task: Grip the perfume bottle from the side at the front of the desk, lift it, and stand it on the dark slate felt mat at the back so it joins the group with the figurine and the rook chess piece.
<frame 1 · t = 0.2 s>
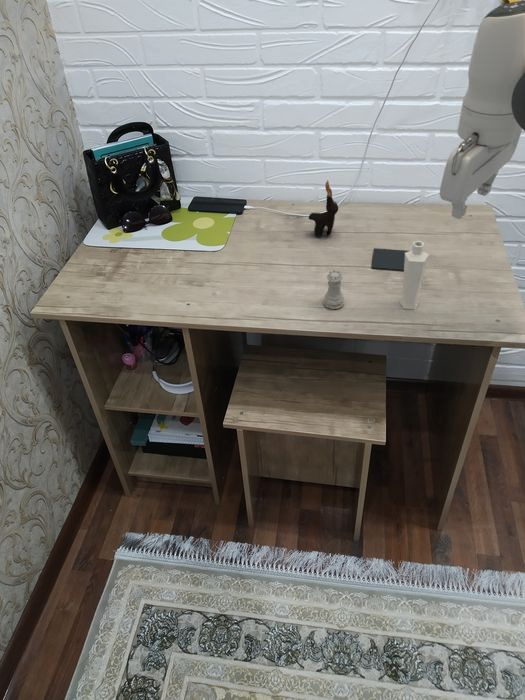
hand: (471, 204, 97), 27 cm above the table, tool pointing down, fingers open, 8 cm apart
rook chess piece: (333, 304, 123), on the table
mat: (394, 260, 134), on the table
figurine: (323, 233, 144), on the table
perfume bottle: (409, 305, 122), on the table
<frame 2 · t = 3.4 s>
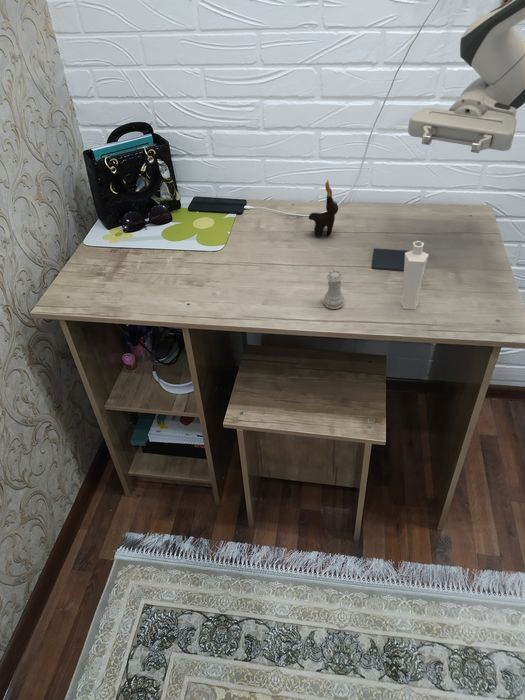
hand: (450, 144, 108), 30 cm above the table, tool horizontal, fingers open, 8 cm apart
nothing on the table moved.
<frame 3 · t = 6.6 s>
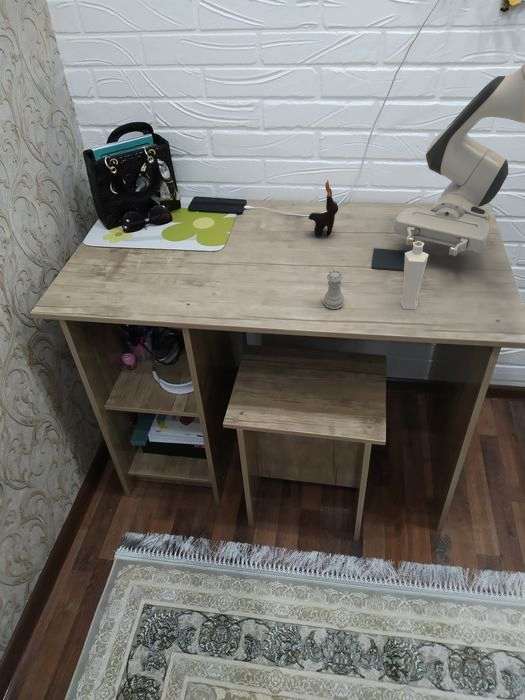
hand: (430, 247, 122), 8 cm above the table, tool horizontal, fingers open, 8 cm apart
nothing on the table moved.
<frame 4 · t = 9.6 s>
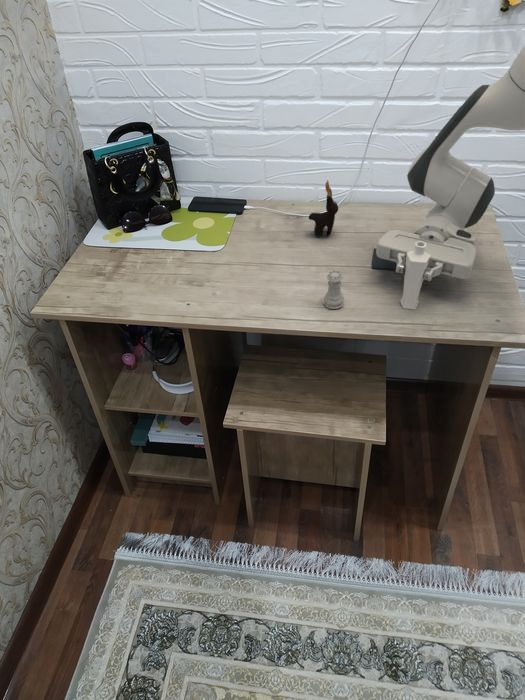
hand: (413, 273, 115), 9 cm above the table, tool horizontal, fingers closed on perfume bottle, 4 cm apart
perfume bottle: (409, 305, 122), on the table, touching gripper
everything else where it was.
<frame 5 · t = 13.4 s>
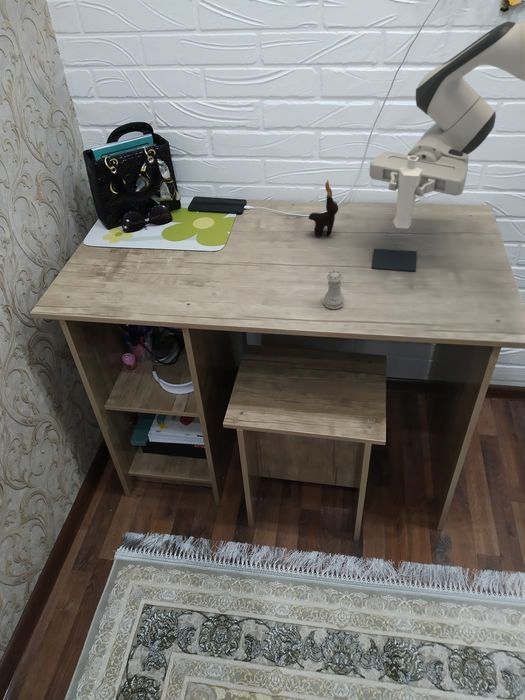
hand: (405, 190, 117), 20 cm above the table, tool horizontal, fingers closed on perfume bottle, 4 cm apart
perfume bottle: (402, 225, 123), point 12 cm above the table, touching gripper
everything else where it was.
when the fingers open (9 cm above the table, at t = 17.2 s): perfume bottle stays where it is, resting on mat.
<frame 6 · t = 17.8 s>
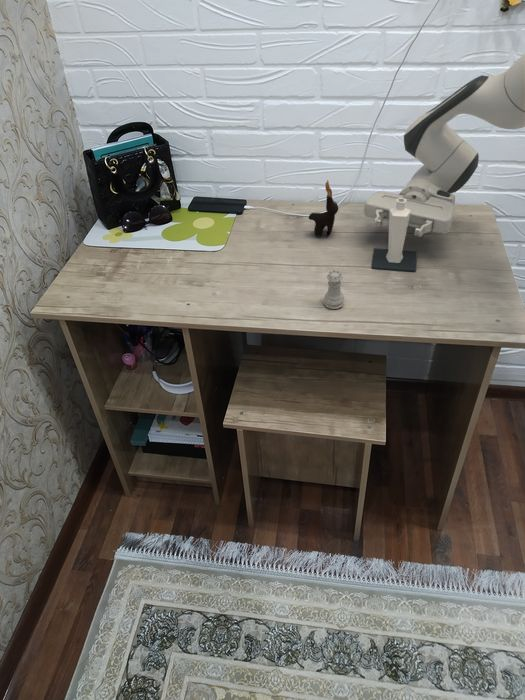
hand: (396, 228, 127), 9 cm above the table, tool horizontal, fingers open, 8 cm apart
perfume bottle: (394, 259, 133), resting on mat
everything else where it was.
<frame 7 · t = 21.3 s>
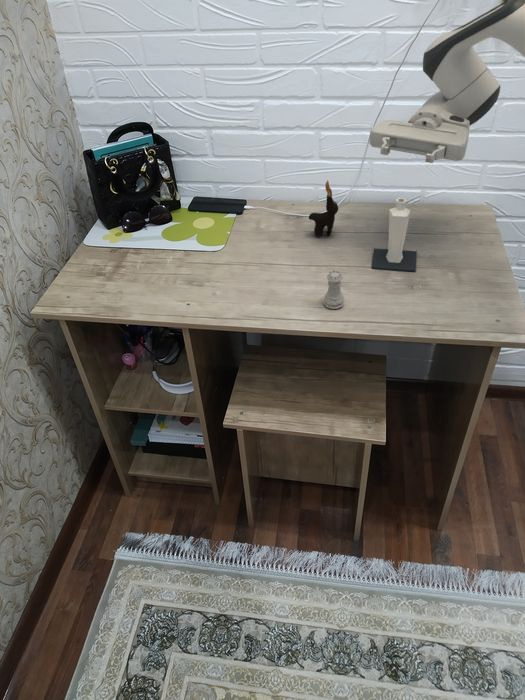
hand: (406, 155, 115), 26 cm above the table, tool horizontal, fingers open, 8 cm apart
nothing on the table moved.
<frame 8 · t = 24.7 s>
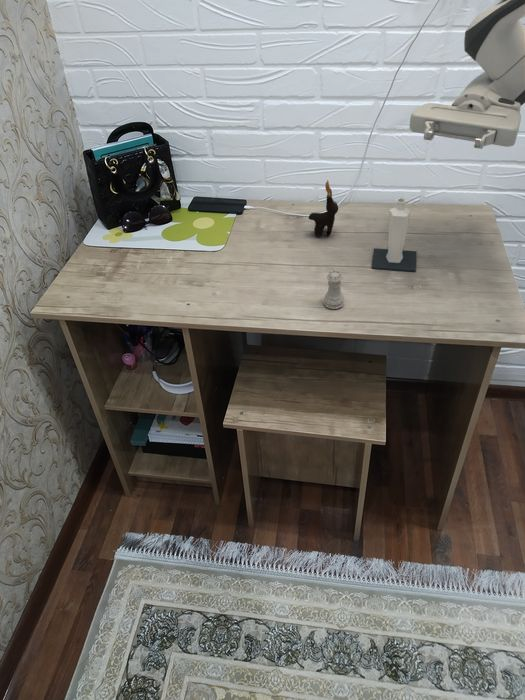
hand: (452, 140, 105), 32 cm above the table, tool horizontal, fingers open, 8 cm apart
nothing on the table moved.
at the end: perfume bottle 0.1 cm off-centre on the mat, point 0.3 cm above the mat's base; perfume bottle tilted 0°; perfume bottle 20.6 cm from the figurine (horizontally) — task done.
